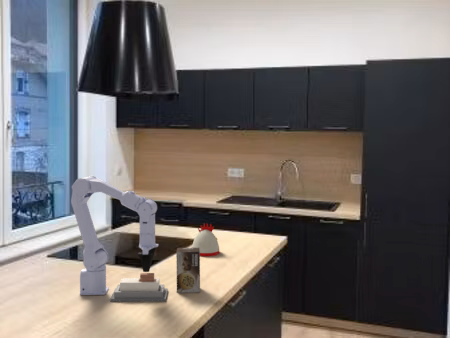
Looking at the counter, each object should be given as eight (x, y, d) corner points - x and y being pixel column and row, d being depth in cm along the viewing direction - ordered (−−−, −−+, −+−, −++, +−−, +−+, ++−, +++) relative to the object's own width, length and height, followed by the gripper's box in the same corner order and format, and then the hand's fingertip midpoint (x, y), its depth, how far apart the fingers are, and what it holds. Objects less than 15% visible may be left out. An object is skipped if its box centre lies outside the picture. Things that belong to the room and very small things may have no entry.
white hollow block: (158, 295, 197) (158, 282, 196) (120, 295, 196) (119, 282, 196) (159, 291, 202) (159, 278, 202) (122, 291, 202) (122, 278, 201)
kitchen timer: (218, 256, 259) (219, 226, 258) (190, 256, 259) (190, 225, 258) (219, 249, 273) (220, 220, 271) (192, 249, 273) (192, 220, 272)
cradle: (110, 301, 193) (110, 293, 192) (115, 291, 205) (115, 283, 204) (165, 301, 194) (165, 293, 193) (167, 290, 206) (167, 283, 205)
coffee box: (199, 287, 210) (200, 247, 209) (200, 292, 204) (200, 251, 203) (176, 287, 210) (176, 247, 208) (176, 292, 203) (176, 251, 202)
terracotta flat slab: (153, 290, 198) (153, 274, 198) (140, 290, 198) (140, 274, 197) (154, 288, 200) (154, 273, 200) (140, 288, 200) (140, 273, 199)
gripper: (156, 237, 190) (156, 274, 191) (159, 228, 205) (159, 263, 206) (136, 237, 190) (136, 274, 191) (141, 228, 204) (141, 263, 205)
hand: (147, 268), depth 198 cm, fingers open, 7 cm apart
